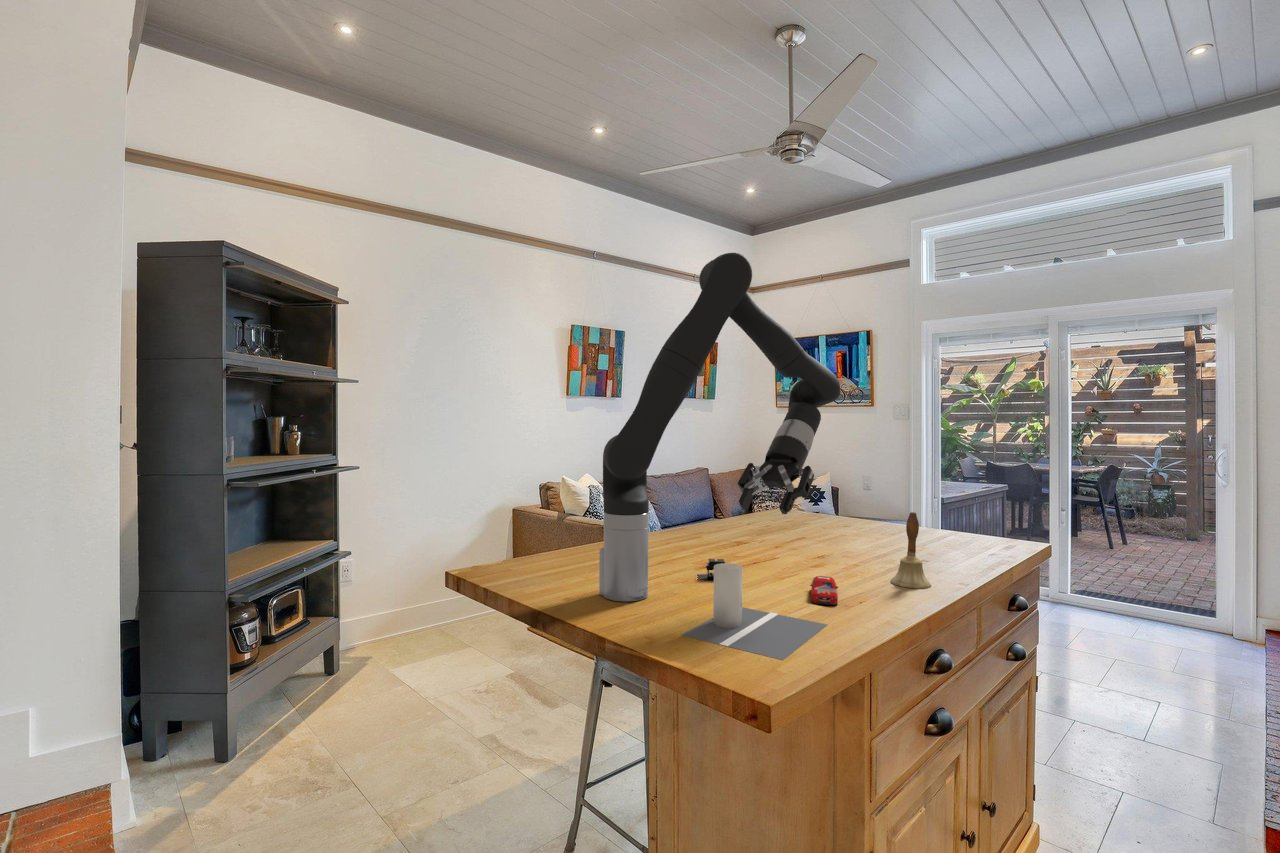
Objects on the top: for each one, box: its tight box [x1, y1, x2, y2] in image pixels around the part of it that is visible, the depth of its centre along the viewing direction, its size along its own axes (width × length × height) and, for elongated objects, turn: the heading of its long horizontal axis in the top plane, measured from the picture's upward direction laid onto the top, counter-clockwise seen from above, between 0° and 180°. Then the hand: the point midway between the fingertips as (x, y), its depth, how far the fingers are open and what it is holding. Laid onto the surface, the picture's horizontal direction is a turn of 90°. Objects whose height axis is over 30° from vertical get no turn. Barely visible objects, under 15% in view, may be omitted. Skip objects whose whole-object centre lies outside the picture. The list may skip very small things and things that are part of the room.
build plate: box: [696, 558, 726, 582], centre depth 143 cm, size 12×7×5 cm, turn 87°
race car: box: [810, 575, 839, 606], centre depth 128 cm, size 13×5×4 cm, turn 163°
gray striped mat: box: [681, 606, 829, 661], centre depth 107 cm, size 18×20×1 cm
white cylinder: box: [712, 562, 744, 628], centre depth 110 cm, size 5×5×10 cm
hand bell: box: [890, 511, 932, 590], centre depth 139 cm, size 8×8×16 cm
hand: (762, 509), depth 118 cm, fingers open, 8 cm apart
